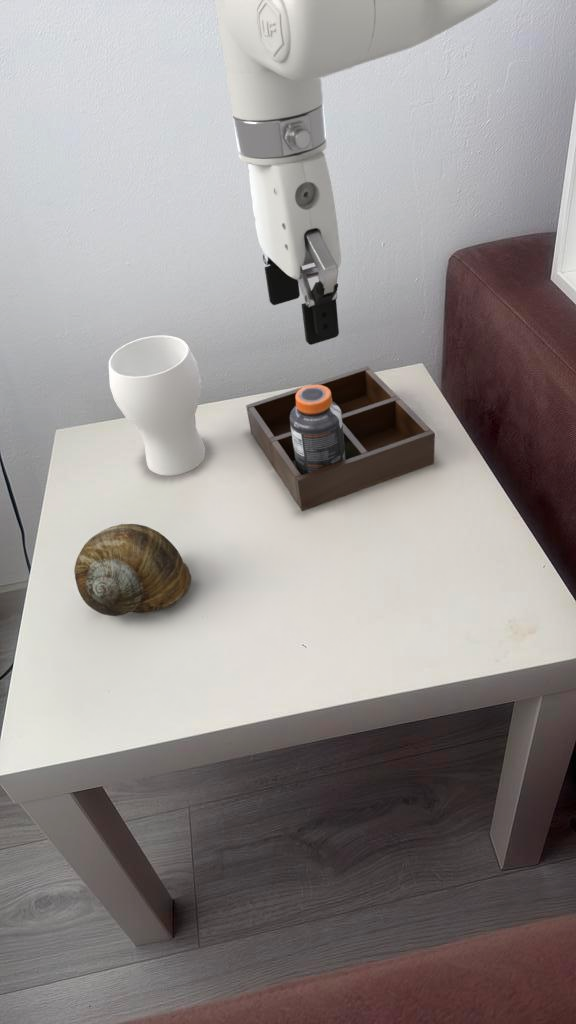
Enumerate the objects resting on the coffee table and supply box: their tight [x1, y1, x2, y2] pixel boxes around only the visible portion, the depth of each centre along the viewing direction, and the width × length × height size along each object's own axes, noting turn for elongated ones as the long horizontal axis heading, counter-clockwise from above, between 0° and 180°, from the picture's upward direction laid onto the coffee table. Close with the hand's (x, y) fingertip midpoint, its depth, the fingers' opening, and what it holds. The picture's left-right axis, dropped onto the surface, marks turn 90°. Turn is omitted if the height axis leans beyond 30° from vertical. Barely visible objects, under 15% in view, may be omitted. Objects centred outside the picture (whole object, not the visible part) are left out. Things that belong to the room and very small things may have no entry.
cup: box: [108, 334, 207, 477], centre depth 90 cm, size 11×11×15 cm
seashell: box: [73, 523, 192, 617], centre depth 76 cm, size 11×9×8 cm
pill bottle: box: [290, 384, 346, 475], centre depth 85 cm, size 6×6×11 cm
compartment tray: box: [245, 365, 436, 512], centre depth 91 cm, size 17×17×5 cm
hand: (303, 319), depth 73 cm, fingers open, 9 cm apart
